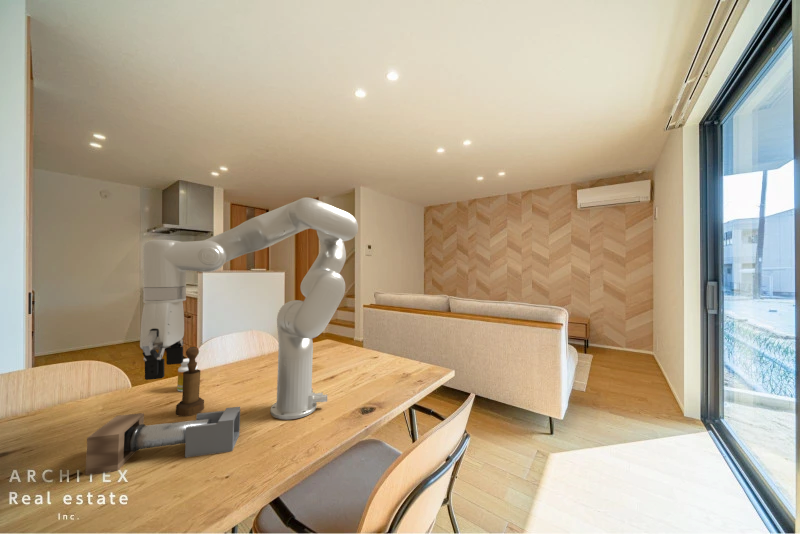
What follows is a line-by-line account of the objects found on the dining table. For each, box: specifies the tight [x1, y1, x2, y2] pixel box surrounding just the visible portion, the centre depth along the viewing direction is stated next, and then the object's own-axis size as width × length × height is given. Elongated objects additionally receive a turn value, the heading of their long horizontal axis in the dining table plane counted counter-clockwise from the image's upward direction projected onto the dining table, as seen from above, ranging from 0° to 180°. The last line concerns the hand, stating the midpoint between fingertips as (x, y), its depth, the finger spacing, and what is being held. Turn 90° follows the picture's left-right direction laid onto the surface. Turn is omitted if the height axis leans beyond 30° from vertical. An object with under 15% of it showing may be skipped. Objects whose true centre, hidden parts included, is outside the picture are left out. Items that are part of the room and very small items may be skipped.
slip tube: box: [124, 419, 211, 453], centre depth 64 cm, size 17×5×5 cm, turn 107°
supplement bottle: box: [176, 357, 199, 393], centre depth 98 cm, size 5×5×10 cm
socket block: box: [85, 412, 145, 476], centre depth 61 cm, size 5×9×7 cm, turn 17°
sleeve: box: [184, 406, 241, 458], centre depth 67 cm, size 9×7×7 cm
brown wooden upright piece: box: [175, 346, 205, 417], centre depth 82 cm, size 7×6×18 cm
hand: (165, 370), depth 66 cm, fingers open, 9 cm apart
